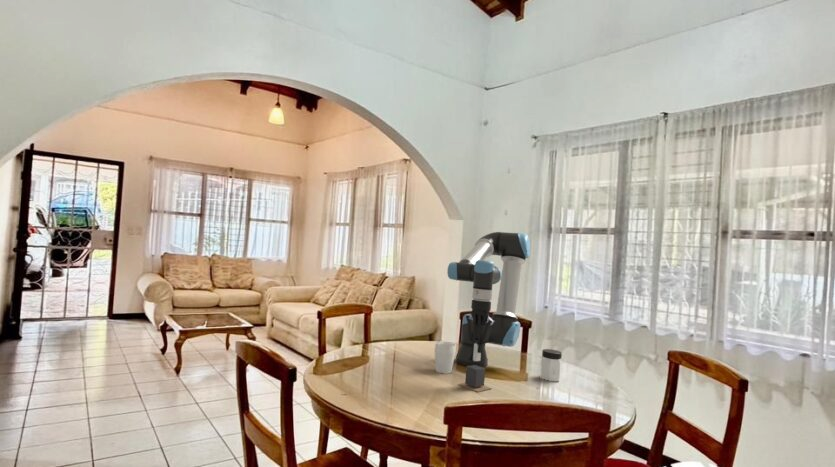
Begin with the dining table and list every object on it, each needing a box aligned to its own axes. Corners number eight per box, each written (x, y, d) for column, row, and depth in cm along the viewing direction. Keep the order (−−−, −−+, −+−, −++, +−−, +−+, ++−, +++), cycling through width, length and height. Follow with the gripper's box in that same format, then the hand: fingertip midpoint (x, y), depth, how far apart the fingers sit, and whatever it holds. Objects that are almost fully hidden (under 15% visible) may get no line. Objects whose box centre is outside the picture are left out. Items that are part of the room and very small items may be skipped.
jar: (544, 381, 191) (546, 352, 191) (536, 375, 199) (538, 348, 199) (563, 382, 192) (566, 354, 192) (555, 376, 200) (557, 349, 200)
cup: (454, 375, 188) (456, 346, 188) (433, 373, 188) (435, 344, 188) (453, 369, 197) (455, 342, 197) (432, 367, 197) (435, 340, 197)
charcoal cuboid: (465, 383, 174) (466, 366, 174) (473, 381, 178) (475, 364, 178) (475, 387, 170) (476, 369, 171) (484, 385, 174) (485, 368, 174)
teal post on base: (458, 384, 175) (459, 366, 175) (471, 381, 180) (473, 364, 181) (477, 392, 168) (479, 373, 168) (491, 389, 173) (492, 370, 173)
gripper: (462, 297, 177) (457, 357, 177) (488, 302, 168) (483, 365, 167) (475, 297, 183) (470, 355, 182) (500, 302, 173) (495, 363, 172)
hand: (476, 360), depth 174 cm, fingers closed
